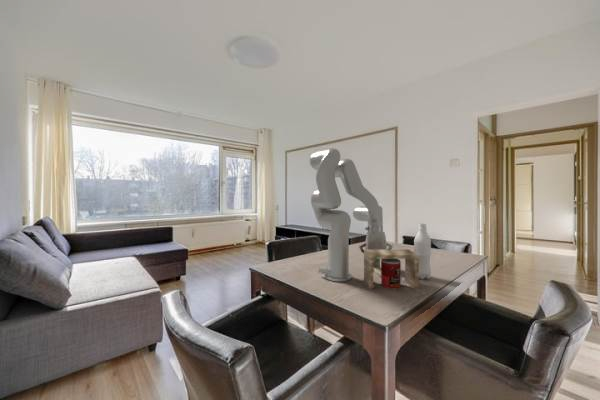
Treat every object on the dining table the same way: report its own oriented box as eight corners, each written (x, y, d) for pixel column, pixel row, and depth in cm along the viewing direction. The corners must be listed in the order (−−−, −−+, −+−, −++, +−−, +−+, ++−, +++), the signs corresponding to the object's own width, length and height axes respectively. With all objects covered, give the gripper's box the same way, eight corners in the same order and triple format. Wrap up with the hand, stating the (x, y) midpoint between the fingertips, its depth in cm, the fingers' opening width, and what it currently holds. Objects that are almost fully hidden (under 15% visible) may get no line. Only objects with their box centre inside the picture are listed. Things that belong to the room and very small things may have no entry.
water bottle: (433, 280, 111) (433, 225, 110) (416, 279, 112) (416, 224, 111) (428, 275, 118) (428, 223, 117) (412, 274, 119) (412, 222, 118)
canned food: (391, 290, 100) (391, 263, 100) (377, 283, 107) (377, 258, 107) (404, 286, 104) (404, 260, 103) (389, 280, 111) (389, 256, 110)
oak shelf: (369, 288, 102) (369, 255, 101) (364, 280, 112) (363, 249, 111) (418, 288, 101) (418, 255, 101) (408, 280, 111) (408, 249, 111)
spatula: (381, 280, 111) (381, 265, 111) (370, 267, 131) (370, 254, 131) (390, 280, 111) (390, 265, 111) (377, 267, 131) (377, 254, 131)
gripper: (360, 231, 125) (361, 264, 126) (394, 230, 125) (395, 263, 126) (357, 228, 133) (358, 260, 134) (389, 227, 132) (390, 259, 133)
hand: (376, 261), depth 130 cm, fingers open, 9 cm apart
